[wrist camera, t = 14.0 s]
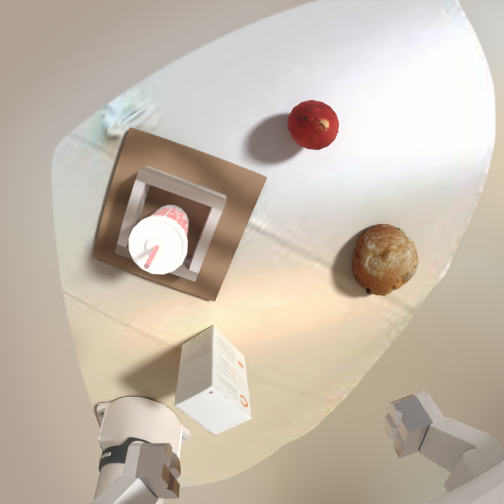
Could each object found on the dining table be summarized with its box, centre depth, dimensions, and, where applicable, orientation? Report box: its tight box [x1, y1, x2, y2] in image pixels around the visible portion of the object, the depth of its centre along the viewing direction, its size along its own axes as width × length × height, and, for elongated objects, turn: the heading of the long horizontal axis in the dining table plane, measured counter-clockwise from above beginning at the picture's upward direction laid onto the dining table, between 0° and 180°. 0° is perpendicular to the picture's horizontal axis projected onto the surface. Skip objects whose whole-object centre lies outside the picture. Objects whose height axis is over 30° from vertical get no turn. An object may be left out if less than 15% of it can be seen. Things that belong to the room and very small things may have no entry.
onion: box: [288, 100, 339, 150], centre depth 34 cm, size 6×6×8 cm
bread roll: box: [352, 224, 418, 296], centre depth 43 cm, size 10×10×8 cm
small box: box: [174, 325, 251, 435], centre depth 42 cm, size 8×6×13 cm
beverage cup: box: [129, 205, 189, 274], centre depth 33 cm, size 6×6×14 cm
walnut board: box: [93, 128, 267, 301], centre depth 38 cm, size 18×18×5 cm
